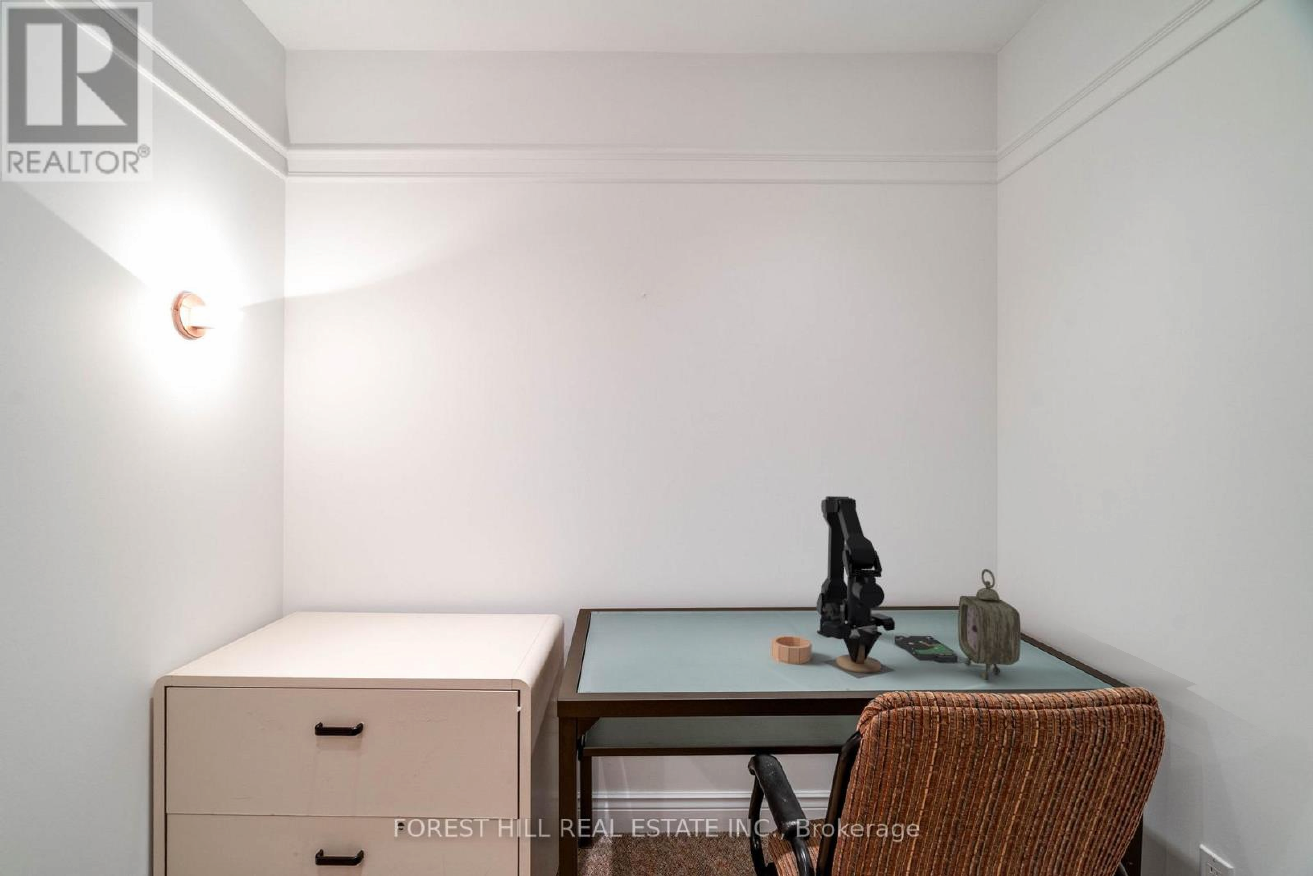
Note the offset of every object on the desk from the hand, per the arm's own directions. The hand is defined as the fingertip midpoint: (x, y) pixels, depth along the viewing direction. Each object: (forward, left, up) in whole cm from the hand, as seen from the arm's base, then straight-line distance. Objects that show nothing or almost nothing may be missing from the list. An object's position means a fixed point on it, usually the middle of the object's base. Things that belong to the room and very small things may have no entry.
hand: (858, 660), depth 156 cm
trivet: (0, 0, -2) cm, 2 cm away
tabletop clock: (-26, +16, -2) cm, 31 cm away
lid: (0, 0, -1) cm, 1 cm away
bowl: (+11, -12, -2) cm, 16 cm away
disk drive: (-25, -1, -3) cm, 25 cm away
